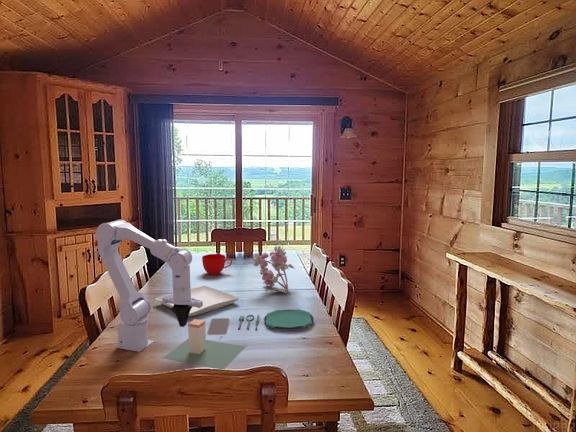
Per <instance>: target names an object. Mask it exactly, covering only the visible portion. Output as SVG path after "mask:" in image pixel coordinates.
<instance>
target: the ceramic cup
mask: <svg viewBox="0 0 576 432" xmlns="http://www.w3.org/2000/svg"><path fill="white" fill-rule="evenodd" d="M228 260H229V261H230V263H229V264H228V265H226V261H228ZM201 261H202V266H203V269H204V271H205V272H206V273H207V274H208V275H209V274H211V275H210V276H216V275H215V274H218V275H220V274H221V273H222V272H223V269H226V268H229V267H230V266H231V265H232V264H233V260H232V258H229V257H228V258H226V255H225V254H220V253H210V254H209V253H208V254H204V255H202V257H201ZM225 265H226V266H225ZM219 273H220V274H219Z"/></svg>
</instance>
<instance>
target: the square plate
mask: <svg viewBox="0 0 576 432" xmlns="http://www.w3.org/2000/svg"><path fill="white" fill-rule="evenodd" d="M165 296H173V292H172V293H169V294H164V295H163V296H158V297H155V298H154V300H155V301H157V302H158V303H160V304H161V305H163V306H166V307H168V308H170V309H172V307H173V306H174V304H170V303H162V298H163V297H165ZM191 298H194V299H197V300H201V301H203V306H202V307H201V308H197V307H193V306H192V308H191V310H190V313H189V315H188V317H194V316H197V315H201V314H204V313H208V312H211V311H214V310H217V309H219V308H223V307H225V306H227V305H231V304H233V303H236V302H237V301H239V299H240V297H239V296H237V295H234V294H232V293H229V292H226V291H224V290H223V291H222V290H221V289H217V288H215V287H211V286H208V285H202V286H197V287H191Z"/></svg>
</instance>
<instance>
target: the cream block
mask: <svg viewBox="0 0 576 432" xmlns="http://www.w3.org/2000/svg"><path fill="white" fill-rule="evenodd" d="M187 327H188V330H187V331H188V339H189V352H190V353H196V354H200V353H202V352H203V351H204V350H205V349H206V340H207V338H206V335H207V333H206V320H204V319H196V318H193V320H192V321H190V322H188V325H187Z"/></svg>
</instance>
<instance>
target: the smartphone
mask: <svg viewBox="0 0 576 432" xmlns="http://www.w3.org/2000/svg"><path fill="white" fill-rule="evenodd" d="M230 321H231V320H230V318H229V317H223V318H220V317H219V318H216V317H215V318H211V319H210V323H209V326H208V330H207V331H206V332H207V333H206V335H208V336H219V335H223V336H225V335H227V334H228V329H229V325H230Z"/></svg>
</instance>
